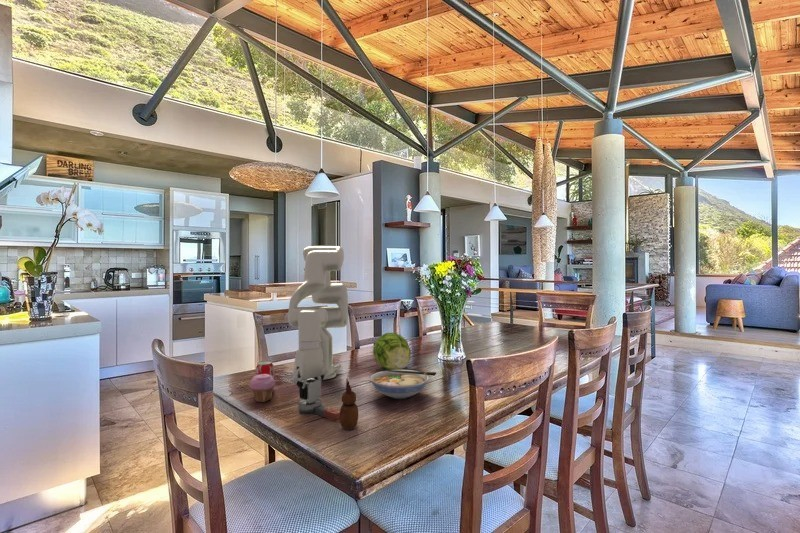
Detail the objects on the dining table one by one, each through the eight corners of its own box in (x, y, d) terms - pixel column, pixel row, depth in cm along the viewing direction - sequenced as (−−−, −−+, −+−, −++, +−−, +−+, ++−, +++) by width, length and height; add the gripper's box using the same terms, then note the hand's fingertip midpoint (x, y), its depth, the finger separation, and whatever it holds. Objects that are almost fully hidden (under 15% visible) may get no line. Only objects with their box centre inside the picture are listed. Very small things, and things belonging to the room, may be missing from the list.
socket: (311, 394, 148) (311, 378, 148) (320, 397, 144) (320, 380, 144) (299, 398, 144) (299, 381, 144) (308, 401, 140) (308, 383, 140)
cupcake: (264, 405, 149) (264, 378, 149) (245, 403, 152) (244, 376, 152) (279, 398, 157) (279, 372, 157) (261, 395, 160) (260, 370, 160)
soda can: (268, 395, 160) (268, 365, 160) (252, 394, 162) (252, 364, 161) (277, 390, 167) (277, 360, 167) (261, 389, 168) (261, 360, 168)
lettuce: (380, 378, 184) (388, 342, 182) (366, 359, 205) (373, 326, 204) (415, 381, 190) (423, 346, 189) (397, 362, 212) (405, 330, 210)
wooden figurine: (340, 423, 132) (340, 377, 132) (358, 422, 132) (358, 376, 132) (339, 432, 125) (338, 383, 125) (358, 431, 126) (357, 382, 125)
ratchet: (312, 404, 150) (312, 383, 150) (348, 416, 138) (347, 393, 138) (293, 410, 144) (293, 388, 144) (329, 423, 132) (329, 399, 132)
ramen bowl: (357, 402, 152) (357, 379, 152) (381, 384, 174) (380, 365, 173) (422, 409, 144) (421, 386, 143) (438, 390, 165) (438, 370, 165)
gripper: (321, 340, 153) (322, 388, 153) (282, 347, 140) (282, 400, 140) (335, 342, 148) (335, 392, 148) (295, 350, 135) (296, 405, 135)
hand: (310, 396), depth 144 cm, fingers closed on socket, 5 cm apart
